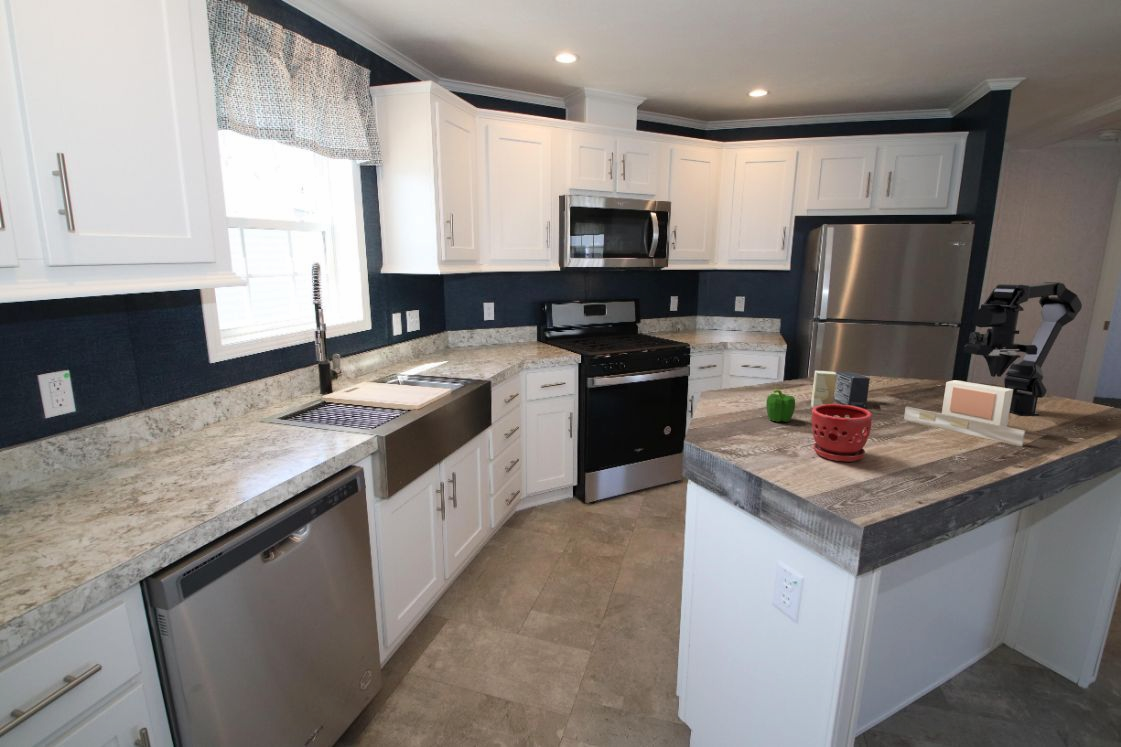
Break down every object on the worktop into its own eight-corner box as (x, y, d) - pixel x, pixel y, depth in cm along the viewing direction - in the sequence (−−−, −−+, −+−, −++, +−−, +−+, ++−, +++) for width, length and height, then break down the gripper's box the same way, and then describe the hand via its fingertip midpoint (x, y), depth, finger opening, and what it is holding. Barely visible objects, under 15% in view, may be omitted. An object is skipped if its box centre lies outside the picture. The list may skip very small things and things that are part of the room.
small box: (867, 408, 177) (871, 377, 175) (848, 408, 177) (851, 377, 175) (851, 400, 187) (854, 371, 185) (832, 400, 187) (835, 371, 185)
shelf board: (932, 415, 167) (934, 398, 166) (1046, 439, 144) (1049, 420, 143) (903, 424, 158) (905, 407, 157) (1020, 452, 135) (1023, 431, 134)
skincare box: (812, 408, 176) (815, 372, 174) (810, 405, 180) (813, 370, 178) (833, 409, 175) (837, 373, 172) (831, 406, 179) (834, 371, 176)
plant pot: (815, 443, 142) (819, 400, 139) (871, 454, 134) (876, 408, 131) (801, 457, 132) (806, 411, 130) (860, 469, 124) (866, 420, 121)
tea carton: (952, 417, 159) (958, 379, 157) (1009, 430, 147) (1017, 388, 145) (936, 423, 154) (942, 383, 152) (993, 435, 142) (1001, 392, 140)
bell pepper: (788, 417, 167) (791, 386, 165) (797, 424, 159) (800, 392, 157) (761, 416, 168) (763, 385, 166) (768, 424, 160) (771, 391, 158)
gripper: (1010, 323, 168) (1002, 371, 171) (953, 323, 167) (946, 371, 170) (1043, 327, 157) (1034, 378, 160) (982, 327, 156) (974, 379, 159)
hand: (995, 376), depth 163 cm, fingers closed
